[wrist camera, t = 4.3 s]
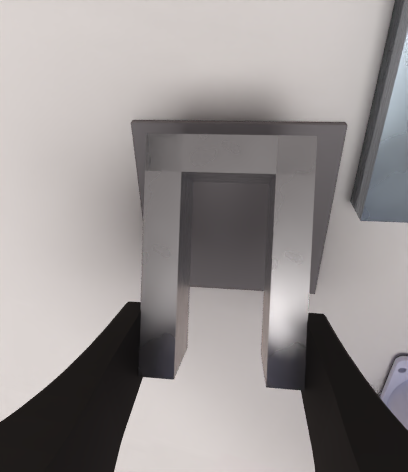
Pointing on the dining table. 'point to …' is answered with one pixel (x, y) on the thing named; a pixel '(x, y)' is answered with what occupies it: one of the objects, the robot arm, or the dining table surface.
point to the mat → (245, 203)
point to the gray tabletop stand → (180, 235)
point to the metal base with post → (387, 133)
